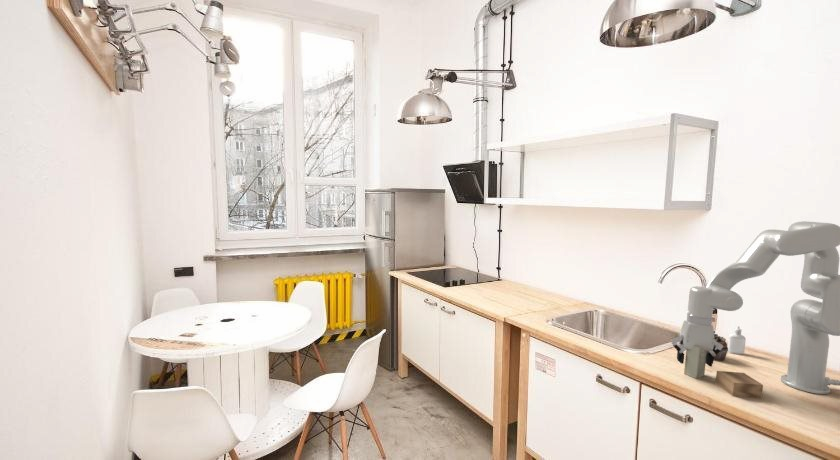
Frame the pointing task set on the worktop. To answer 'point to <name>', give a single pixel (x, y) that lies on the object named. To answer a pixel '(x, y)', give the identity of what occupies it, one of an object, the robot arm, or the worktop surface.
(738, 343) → the eye dropper bottle
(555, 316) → the worktop surface
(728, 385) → the block
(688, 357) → the skincare box
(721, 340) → the cupcake
